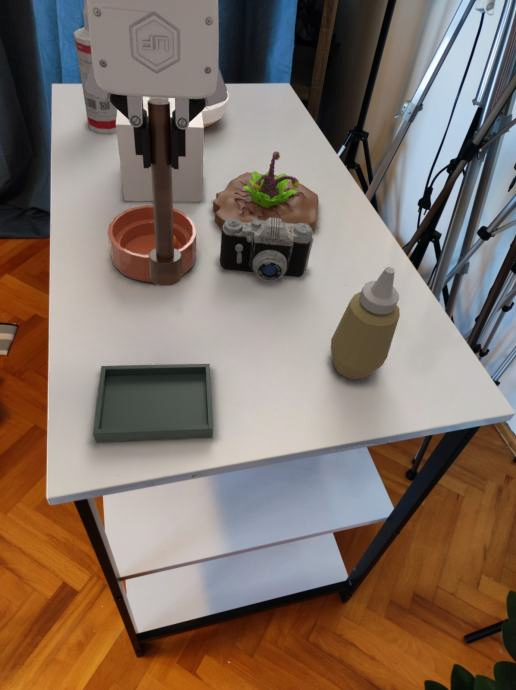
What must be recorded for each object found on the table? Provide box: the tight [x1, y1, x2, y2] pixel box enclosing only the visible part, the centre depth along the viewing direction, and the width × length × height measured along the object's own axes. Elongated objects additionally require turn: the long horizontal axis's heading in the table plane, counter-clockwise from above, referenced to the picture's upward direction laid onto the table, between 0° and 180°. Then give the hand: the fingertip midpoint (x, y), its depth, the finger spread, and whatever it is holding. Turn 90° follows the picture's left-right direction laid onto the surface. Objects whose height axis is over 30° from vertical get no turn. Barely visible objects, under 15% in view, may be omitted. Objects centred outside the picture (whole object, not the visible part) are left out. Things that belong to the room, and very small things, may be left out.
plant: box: [212, 151, 319, 232], centre depth 91 cm, size 20×20×11 cm
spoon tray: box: [92, 363, 214, 443], centre depth 63 cm, size 14×10×2 cm
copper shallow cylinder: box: [107, 204, 197, 283], centre depth 81 cm, size 14×14×6 cm
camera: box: [219, 217, 314, 282], centre depth 79 cm, size 15×7×10 cm, turn 88°
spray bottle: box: [73, 0, 117, 134], centre depth 101 cm, size 8×8×25 cm
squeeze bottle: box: [330, 266, 401, 381], centre depth 65 cm, size 8×8×18 cm
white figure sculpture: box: [116, 97, 205, 203], centre depth 88 cm, size 15×18×25 cm
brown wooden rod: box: [148, 98, 183, 287], centre depth 51 cm, size 4×4×19 cm
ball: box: [174, 235, 177, 248], centre depth 83 cm, size 3×3×3 cm
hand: (161, 160), depth 48 cm, fingers closed on brown wooden rod, 2 cm apart
